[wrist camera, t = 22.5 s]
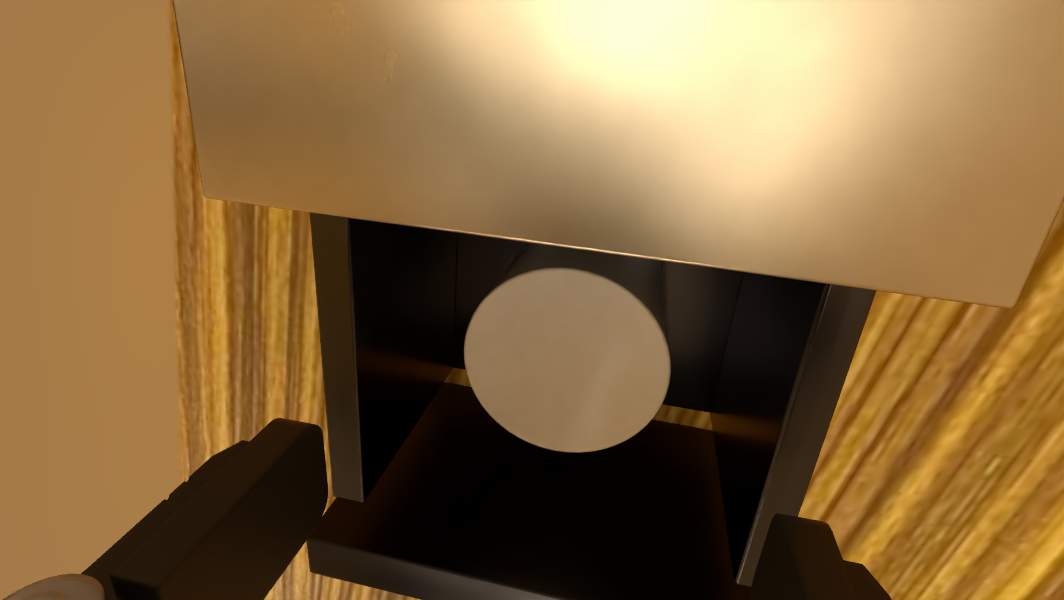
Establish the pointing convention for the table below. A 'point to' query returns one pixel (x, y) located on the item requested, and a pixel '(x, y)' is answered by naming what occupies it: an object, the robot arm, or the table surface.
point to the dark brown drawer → (554, 476)
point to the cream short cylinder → (572, 347)
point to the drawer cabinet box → (655, 127)
